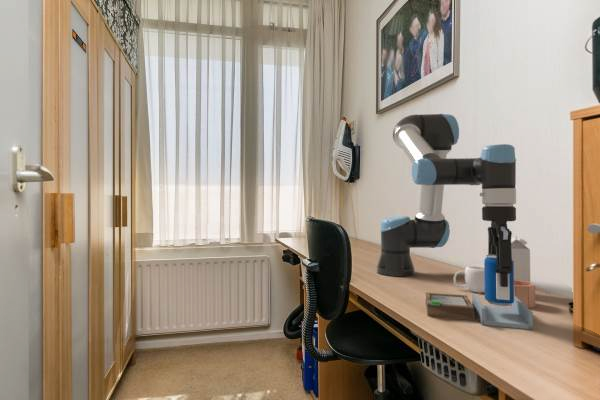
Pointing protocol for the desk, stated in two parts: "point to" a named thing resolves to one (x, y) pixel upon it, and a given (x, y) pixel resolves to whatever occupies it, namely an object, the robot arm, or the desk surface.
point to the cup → (525, 292)
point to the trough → (503, 314)
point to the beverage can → (490, 282)
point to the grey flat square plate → (449, 300)
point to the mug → (473, 278)
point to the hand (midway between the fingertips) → (499, 295)
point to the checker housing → (449, 308)
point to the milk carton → (520, 259)
